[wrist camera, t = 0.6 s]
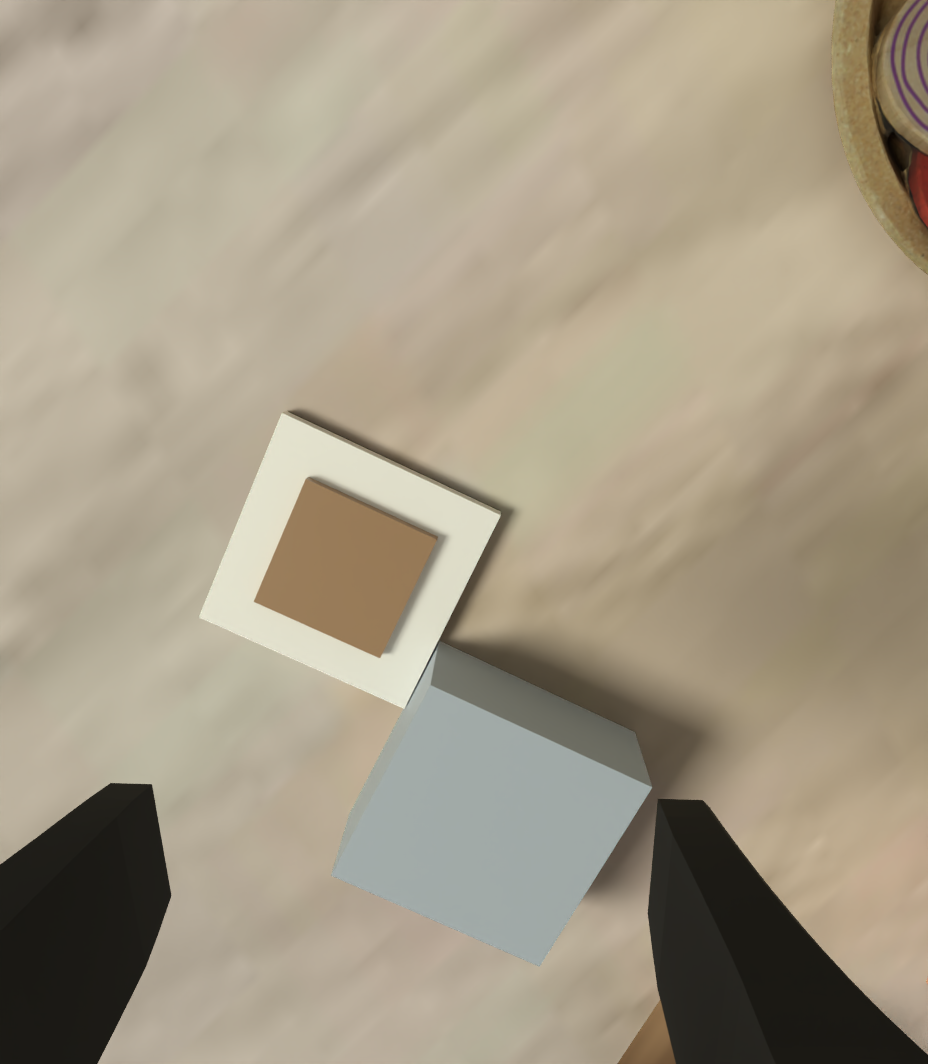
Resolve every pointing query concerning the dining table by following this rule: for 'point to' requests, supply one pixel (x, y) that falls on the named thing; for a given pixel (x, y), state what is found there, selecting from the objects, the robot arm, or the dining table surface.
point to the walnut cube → (651, 1042)
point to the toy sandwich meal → (886, 112)
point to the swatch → (347, 560)
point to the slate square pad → (492, 805)
